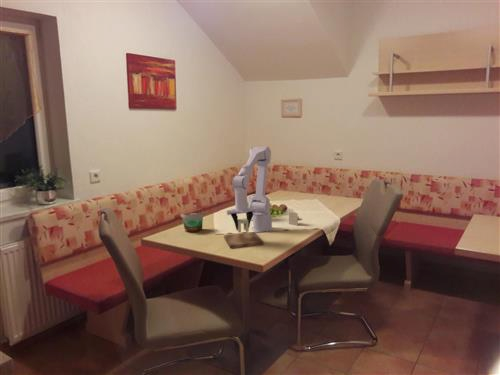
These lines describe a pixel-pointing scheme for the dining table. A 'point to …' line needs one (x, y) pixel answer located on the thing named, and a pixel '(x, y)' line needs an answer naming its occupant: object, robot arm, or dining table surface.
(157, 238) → the dining table surface
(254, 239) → the serving board
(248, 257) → the dining table surface
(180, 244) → the dining table surface
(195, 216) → the food container
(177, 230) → the dining table surface
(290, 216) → the architectural model
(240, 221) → the pale slotted block
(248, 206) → the syrup box
